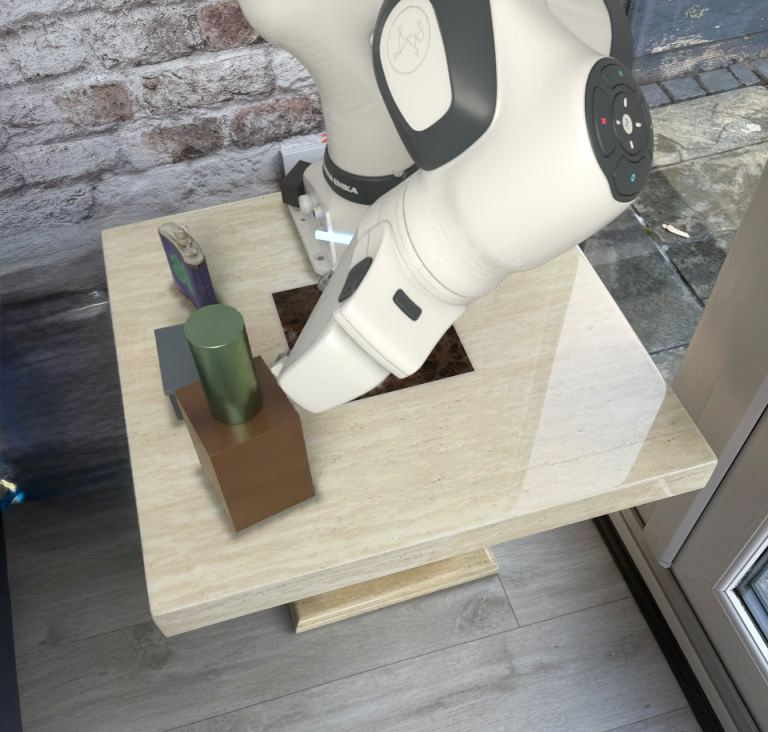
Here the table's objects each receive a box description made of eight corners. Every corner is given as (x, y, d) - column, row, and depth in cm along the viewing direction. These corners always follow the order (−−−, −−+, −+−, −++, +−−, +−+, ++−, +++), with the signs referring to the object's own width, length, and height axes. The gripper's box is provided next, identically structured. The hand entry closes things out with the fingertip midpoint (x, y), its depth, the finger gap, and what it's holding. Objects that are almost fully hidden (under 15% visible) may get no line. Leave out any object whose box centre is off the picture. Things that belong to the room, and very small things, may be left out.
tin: (200, 396, 79) (174, 317, 70) (249, 375, 80) (229, 296, 71) (221, 432, 76) (197, 355, 68) (271, 411, 77) (253, 332, 69)
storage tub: (165, 361, 99) (153, 329, 94) (219, 350, 99) (210, 317, 95) (175, 423, 94) (163, 391, 89) (232, 410, 94) (223, 378, 90)
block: (202, 470, 90) (173, 390, 79) (278, 437, 92) (260, 354, 81) (236, 532, 86) (209, 457, 75) (315, 496, 88) (300, 417, 77)
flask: (171, 284, 106) (149, 213, 97) (192, 274, 107) (171, 203, 98) (207, 326, 102) (187, 256, 93) (228, 316, 103) (210, 245, 94)
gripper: (437, 126, 60) (322, 215, 70) (335, 325, 49) (218, 396, 60) (494, 191, 62) (375, 268, 73) (408, 392, 52) (284, 449, 62)
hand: (304, 327), depth 66 cm, fingers open, 8 cm apart
